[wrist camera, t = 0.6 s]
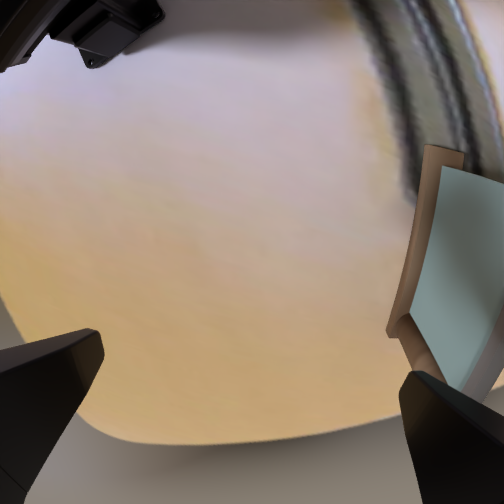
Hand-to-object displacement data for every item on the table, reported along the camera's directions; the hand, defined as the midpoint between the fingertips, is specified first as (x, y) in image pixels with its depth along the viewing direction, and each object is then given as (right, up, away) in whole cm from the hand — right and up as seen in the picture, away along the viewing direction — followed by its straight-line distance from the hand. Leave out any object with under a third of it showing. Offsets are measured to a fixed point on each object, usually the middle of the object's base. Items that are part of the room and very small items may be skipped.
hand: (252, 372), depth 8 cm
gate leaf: (+12, +4, +9) cm, 15 cm away
